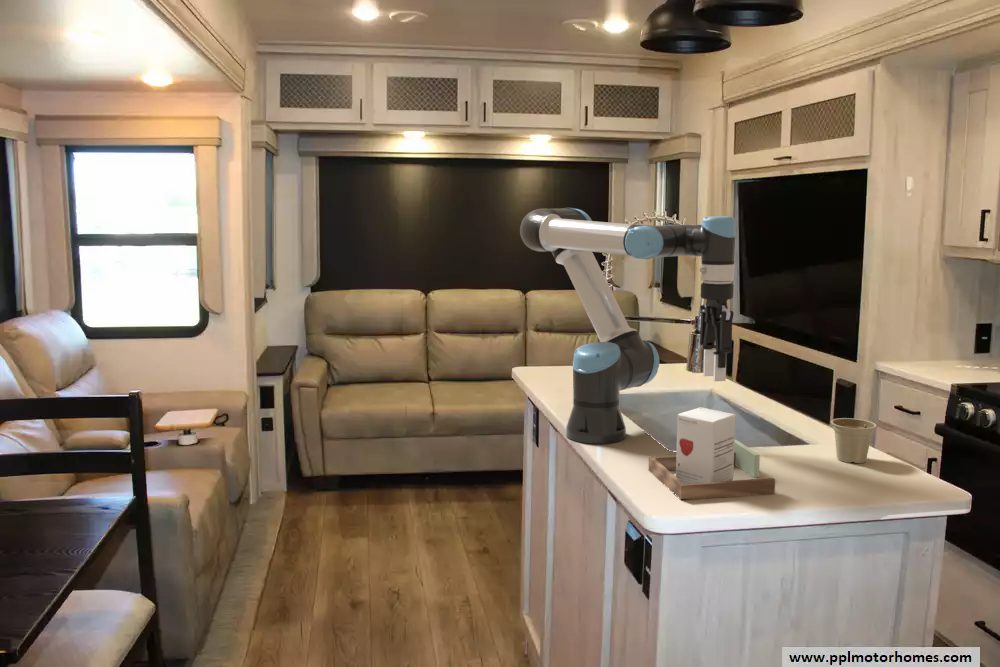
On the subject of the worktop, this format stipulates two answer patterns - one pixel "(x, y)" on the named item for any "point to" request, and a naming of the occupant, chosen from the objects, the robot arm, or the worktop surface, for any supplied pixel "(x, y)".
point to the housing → (707, 489)
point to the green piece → (747, 459)
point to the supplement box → (705, 446)
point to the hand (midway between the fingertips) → (714, 378)
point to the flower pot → (852, 439)
